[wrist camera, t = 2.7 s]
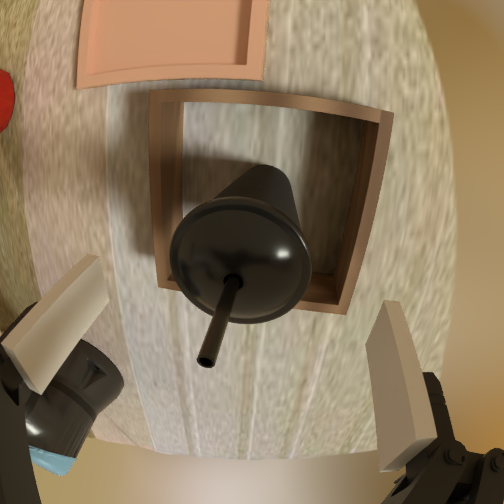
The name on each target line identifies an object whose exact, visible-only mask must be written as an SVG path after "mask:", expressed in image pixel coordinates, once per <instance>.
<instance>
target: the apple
mask: <svg viewBox="0 0 504 504" xmlns="http://www.w3.org/2000/svg"><path fill="white" fill-rule="evenodd" d="M14 103H15V93H14V88H13V83H12V80H11V78H10V76H9V73H7V72H5V71H3V70H1V69H0V133H1V132H2V131H3V130H4V129H5V128H6V127H7V126H8V123H9V121H10V118H11V115H12V111H13V108H14Z"/></svg>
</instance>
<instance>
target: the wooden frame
mask: <svg viewBox="0 0 504 504" xmlns="http://www.w3.org/2000/svg"><path fill="white" fill-rule="evenodd" d="M184 102H222V103H242V104H256V105H268V106H278V107H287V108H296V109H303V110H311V111H318V112H324V113H330V114H336V115H342V116H347V117H353V118H358V119H363V120H365V122H364V129H363V135H362V142H361V148H360V154H359V160H358V166H357V172H356V178H355V183H354V188H353V193H352V199H351V204H350V208H349V213H348V218H347V223H346V227H345V232H344V236H343V241H342V245H341V249H340V254H339V258H338V262H337V266H336V270H335V274H334V275H327V274H319V273H312V274H311V280H310V283H309V286H308V288H307V291H306V293H305V294H304V296H303V297H302V299H301V300H300V301H299V303H298V304H297V305H296V306H295V307H294V308H292V309H300V310H308V311H316V312H324V313H333V314H342V315H346V314H347V311H348V308H349V305H350V302H351V298H352V295H353V292H354V289H355V286H356V282H357V279H358V276H359V272H360V269H361V265H362V262H363V258H364V255H365V251H366V247H367V244H368V240H369V236H370V232H371V228H372V224H373V220H374V216H375V212H376V208H377V203H378V199H379V194H380V190H381V185H382V180H383V175H384V170H385V165H386V160H387V154H388V149H389V143H390V137H391V131H392V124H393V118H394V113H392V112H388V111H384V110H380V109H375V108H371V107H366V106H362V105H357V104H351V103H346V102H341V101H335V100H329V99H323V98H316V97H309V96H301V95H293V94H284V93H275V92H263V91H249V90H230V89H165V90H150V97H149V171H150V196H151V213H152V228H153V241H154V252H155V262H156V272H157V281H158V287H160V288H166V289H171V290H177V291H181V290H180V288H179V287H178V285H177V283H176V281H175V279H174V277H173V274H172V271H171V266H170V259H169V250H170V243H171V239H172V237H173V234H174V232H175V230H176V228H177V226H178V225H179V223H180V222H181V221H182V220H183V209H182V146H183V111H184Z"/></svg>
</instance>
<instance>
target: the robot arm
mask: <svg viewBox="0 0 504 504" xmlns="http://www.w3.org/2000/svg"><path fill="white" fill-rule="evenodd" d="M108 303H109V297H108V293H107V289H106V285H105V280H104V276H103V271H102V266H101V261H100V256H95V255H90V254H87V255H86V256H85V257H84V258H83V259H82V260H81V261H80V262H78V263H77V264H76V265H75V266H74V267H73V268H72V269H71V270H70V271H69V272H68V273H67V274H66V275H65V276H64V277H63V278H62V279H61V280H60V281H59V282H58V283H57V284H56V285H55V286H54V287H53V288H52V289H51V290H50V291H49V292H48V293H47V294H46V295H45V296H44V297H43V298H42V299H41V300H40V301H39V302H35V303H34V304H32V305H30V306H29V307H27V308H26V309H25V310H24V311H23V312H22V313H21V314H20V316H19V317H18V318H17V319H16V320H15V322H13V323H12V324H11V325H10V326H9V328H8V329H7V330H6V331H5V332H4V333H3V334H2V335H1V337H0V504H41V500H40V496H39V493H38V489H37V485H36V480H35V476H34V471H33V466H32V463H34V464H36V465H38V466H40V467H41V468H43V469H45V470H47V471H49V472H51V473H54V474H56V475H60V476H62V475H65V474H67V473H68V472H69V470H70V468H71V467H72V465H73V463H74V462H75V461H76V459H77V458H76V457H77V455H78V453H79V451H80V449H81V447H82V445H83V443H84V441H85V439H86V437H87V435H88V433H89V431H90V429H91V427H92V425H93V423H94V421H95V419H96V417H97V415H98V414H99V413H100V412H101V411H102V410H104V409H105V408H106V407H107V406H108V405H109V404H110V403H111V402H113V401H114V400H115V399H116V398H117V397H118V396H119V394H120V392H121V390H122V389H123V386H124V381H123V378H122V375H121V374H120V372H119V370H118V369H117V368H116V366H115V365H114V364H113V363H112V362H111V361H110V360H109V359H108V358H107V357H106V356H105V355H104V354H103V353H101V352H100V351H99V350H97V349H96V348H95V347H93V346H91V345H90V344H88V343H86V342H85V341H82V340H80V339H81V338H82V336H83V335H84V334H85V332H86V331H87V330H88V328H89V327H90V326H91V324H92V323H93V322H94V320H95V319H96V318H97V317H98V315H99V314H100V313H101V311H102V310H103V309H104V308H105V306H106V305H107V304H108ZM366 351H367V358H368V364H369V371H370V379H371V386H372V394H373V403H374V412H375V422H376V433H377V446H378V461H379V472H390V471H398V470H400V469H401V468H402V467H403V466H405V465H406V473H405V474H404V475H402V476H401V477H400V478H398V479H397V480H396V481H395V482H394V483H395V484H396V483H397V484H396V486H395V487H394V488H393V490H392V491H391V492H390V494H389V495H388V496H387V497H386V498H385V500H384V501H383V502H382V503H381V504H503V501H504V450H502V449H500V448H494V449H492V450H490V451H489V452H487V453H486V454H479V453H473V452H469V451H467V450H466V448H465V446H464V445H463V444H462V443H461V442H459V441H456V440H455V437H454V434H453V429H452V425H451V421H450V417H449V413H448V409H447V406H446V405H445V403H446V402H445V398H444V396H443V391H442V387H441V384H440V382H439V380H438V379H437V377H436V376H435V375H434V373H433V372H422V370H421V367H420V363H419V360H418V356H417V353H416V350H415V346H414V343H413V340H412V337H411V334H410V331H409V327H408V324H407V321H406V319H405V316H404V313H403V310H402V307H401V304H400V302H398V301H389V300H384V301H383V304H382V306H381V309H380V311H379V314H378V316H377V319H376V321H375V324H374V326H373V328H372V331H371V333H370V335H369V338H368V340H367V342H366Z"/></svg>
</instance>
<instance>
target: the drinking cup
mask: <svg viewBox="0 0 504 504" xmlns="http://www.w3.org/2000/svg"><path fill="white" fill-rule="evenodd" d="M169 259H170V266H171V271H172V274H173V277H174V279H175V281H176V283H177V285H178V287H179V288H180V290H181V291H182V292H183V294H184V295H185V296H186V297H187V298H188V299H189V300H190V301H191V302H192V303H193V304H194V305H195V306H196V307H198V308H199V309H201V310H202V311H204V312H205V313H207V314H209V315H211V316H213V317H212V320H211V323H210V325H209V328H208V331H207V333H206V336H205V339H204V341H203V344H202V347H201V349H200V352H199V355H198V358H197V362H198V364H199V365H201V366H202V367H205V368H212V367H214V365H215V363H216V359H217V356H218V353H219V350H220V346H221V343H222V340H223V337H224V334H225V330H226V327H227V324H228V322H232V323H238V324H257V323H263V322H267V321H271V320H274V319H276V318H278V317H281V316H282V315H284V314H286V313H287V312H289V311H290V310H291V309H292V308H294V307H295V306H296V305H297V304H298V303H299V301H300V300H301V299H302V297H303V296H304V294H305V293H306V291H307V288H308V286H309V283H310V280H311V274H312V260H311V253H310V250H309V246H308V244H307V241H306V239H305V237H304V235H303V233H302V232H301V229H300V225H299V220H298V215H297V211H296V206H295V202H294V197H293V193H292V189H291V185H290V182H289V180H288V178H287V176H286V175H285V174H284V173H283V172H282V171H281V170H279V169H277V168H275V167H273V166H268V165H260V166H256V167H253V168H251V169H250V170H248V171H247V172H246V173H245V174H243V175H242V176H241V177H240V178H238V179H237V180H236V181H235V182H233V183H232V184H231V185H230V186H228V187H227V188H226V189H225V190H223V191H222V192H221V193H220V194H219V195H217V196H216V197H215V198H214V199H213V200H210V201H208V202H205V203H203V204H201V205H199V206H198V207H196V208H195V209H193V210H192V211H191V212H189V213H188V214H187V215H186V216H185V217H184V218H183V220H182V221H181V222H180V223H179V225H178V226H177V228H176V230H175V232H174V234H173V237H172V239H171V243H170V250H169Z"/></svg>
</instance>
